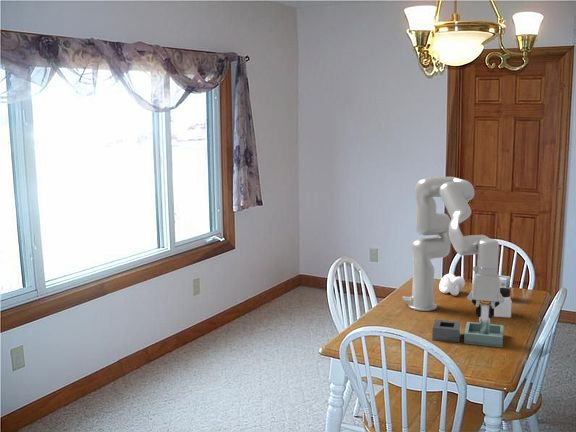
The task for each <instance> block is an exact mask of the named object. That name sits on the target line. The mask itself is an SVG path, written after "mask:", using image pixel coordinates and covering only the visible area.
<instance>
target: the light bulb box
mask: <svg viewBox="0 0 576 432" xmlns="http://www.w3.org/2000/svg"><path fill="white" fill-rule="evenodd" d="M498 275H499V278H500V287H506V288H509V289H510V290H511V288H510V285H511V283H510V282H511V276H509V275H500V274H498Z"/></svg>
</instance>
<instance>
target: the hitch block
mask: <svg viewBox="0 0 576 432" xmlns="http://www.w3.org/2000/svg"><path fill="white" fill-rule="evenodd" d="M461 333H462V321H455V320H445V319H435V320H434V323H433V326H432V336H431V338H432V339H431V340H432V341H441V342H448V343H449V342H450V343H458V344H459V342H460V338H461Z"/></svg>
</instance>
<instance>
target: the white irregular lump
mask: <svg viewBox="0 0 576 432" xmlns="http://www.w3.org/2000/svg"><path fill="white" fill-rule="evenodd" d="M465 285H466V282H465V278H463V276H460V275H459V276H456V275H455V274H454V273H447V274H445V275H443V276H442V277H441V279H440V282H439V284H438V286H439V287H438V288H439V291H440V292H441V294H444V295H445V294H448V293H450V294H451V295H452V296H454V297H456V296H458V295H459V294H460V292H461V290H462V289H464V287H465Z"/></svg>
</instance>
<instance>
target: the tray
mask: <svg viewBox="0 0 576 432" xmlns="http://www.w3.org/2000/svg"><path fill="white" fill-rule="evenodd" d="M504 327H505V326H504V324H493V323H490V330H489V335H486V334H479V322H473V321H467V322H466V325H465V330H464V336H463V338H464V339H463V344H468V345H469V344H470V345H475V346H476V345H477V346H486V347H493V348H494V347H495V348H496V347H497V348H503V343H504V341H503V339H504Z"/></svg>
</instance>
